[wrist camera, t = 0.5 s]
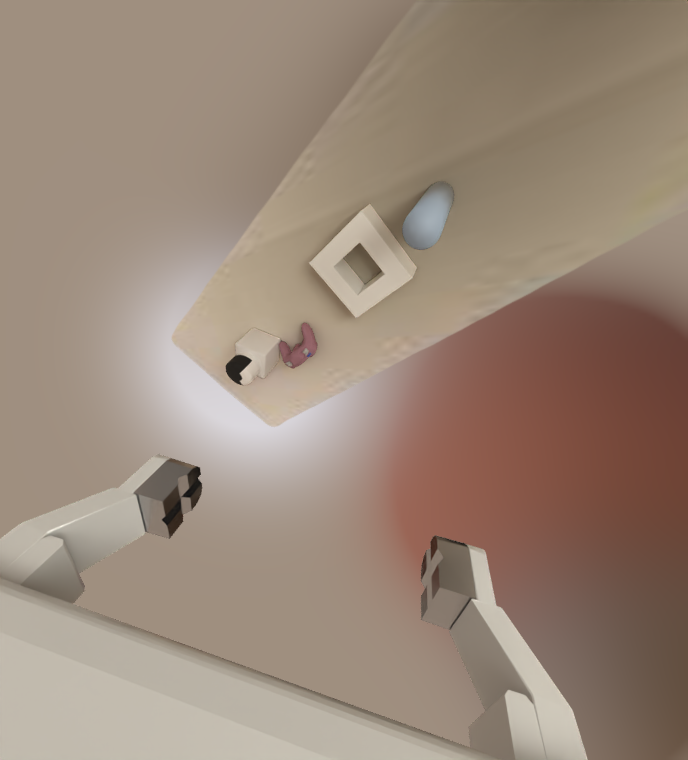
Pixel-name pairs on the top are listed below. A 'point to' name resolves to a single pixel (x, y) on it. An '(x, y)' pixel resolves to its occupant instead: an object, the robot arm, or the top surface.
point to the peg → (428, 216)
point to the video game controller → (299, 348)
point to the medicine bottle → (253, 357)
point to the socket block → (382, 251)
